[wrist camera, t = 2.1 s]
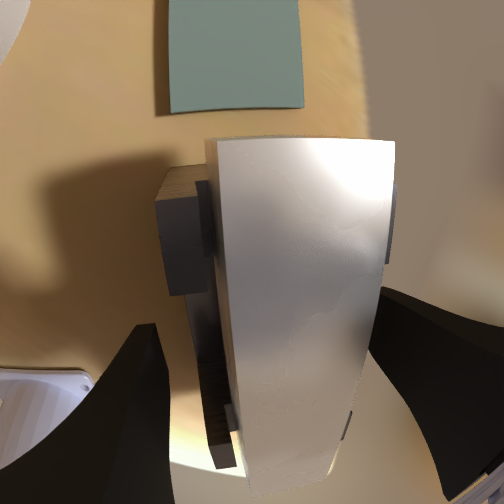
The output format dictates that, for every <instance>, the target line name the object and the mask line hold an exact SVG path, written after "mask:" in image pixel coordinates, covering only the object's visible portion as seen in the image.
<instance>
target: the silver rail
mask: <svg viewBox="0 0 504 504" xmlns="http://www.w3.org/2000/svg"><path fill="white" fill-rule="evenodd" d="M204 142H205V157H206V172H207V185H208V198H209V210H210V222H211V233H212V244H213V254H214V264H215V274H216V283H217V292H218V301H219V310H220V319H221V327H222V335H223V343H224V351H225V358H226V366H227V373H228V381H229V388H230V395H231V401H232V408H233V415H234V421H235V428H236V434H237V440H238V445H239V449H240V453H241V457H242V461H243V465H244V469H245V473H246V477H247V480H248V484H249V488H250V492H251V495H252V498H253V497H259V496H264V495H269V494H273V493H278V492H281V491H286V490H290V489H294V488H298V487H301V486H305V485H308V484H312V483H315V482H318V481H322V480H325V478H326V476H327V473H328V471H329V469H330V466H331V464H332V461H333V459H334V456H335V453H336V451H337V448H338V445H339V443H340V440H341V437H342V434H343V432H344V429H345V426H346V423H347V420H348V417H349V414H350V411H351V408H352V404H353V401H354V398H355V395H356V391H357V388H358V384H359V381H360V377H361V374H362V370H363V366H364V362H365V358H366V354H367V350H368V346H369V342H370V338H371V333H372V329H373V324H374V320H375V315H376V310H377V305H378V299H379V294H380V288H381V282H382V276H383V270H384V264H385V257H386V249H387V242H388V233H389V224H390V214H391V203H392V190H393V173H394V142H390V141H381V140H373V139H363V138H353V137H341V136H327V135H264V136H240V137H224V138H211V139H204Z"/></svg>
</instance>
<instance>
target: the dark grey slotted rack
mask: <svg viewBox="0 0 504 504" xmlns="http://www.w3.org/2000/svg"><path fill="white" fill-rule="evenodd" d="M396 194H397V184H395V183H393V190H392V203H391V214H390V224H389V233H388V242H387V249H386V257H385V264H388V263H389V257H390V250H391V243H392V234H393V225H394V217H395V216H394V215H395V206H396ZM155 208H156V216H157V223H158V230H159V237H160V243H161V249H162V255H163V261H164V267H165V273H166V278H167V284H168V289H169V294H170V296H178V295H185V300H186V306H187V312H188V317H189V323H190V328H191V333H192V338H193V343H194V348H195V353H196V358H197V365H198V374H199V382H200V391H201V398H202V406H203V413H204V420H205V427H206V434H207V440H208V446H209V450H210V453H211V456H212V459H213V461H214V464H215V467H216V469H223V468H230V467H237V465H236V460H235V455H234V450H233V445H232V440H231V436H230V432H232V431H236V428H235V421H234V415H233V408H232V401H231V395H230V388H229V381H228V373H227V366H226V358H225V351H224V343H223V335H222V327H221V319H220V310H219V301H218V292H217V283H216V274H215V264H214V254H213V244H212V233H211V222H210V210H209V198H208V185H207V172H206V164H198V165H189V166H180V167H171V168H170V169H169V171H168V173H167V175H166V177H165V179H164V182H163V184H162V186H161V188H160V190H159V192H158V195H157V197H156V199H155ZM385 264H384V265H385ZM351 416H352V411H350V414H349V417H348V420H347V423H346V426H345V429H344V432H343V434H342V437H341V440H343V439H344V436H345V433H346V431H347V428H348V425H349V422H350V419H351ZM341 440H340V441H341Z"/></svg>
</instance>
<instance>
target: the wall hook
mask: <svg viewBox="0 0 504 504" xmlns="http://www.w3.org/2000/svg"><path fill="white" fill-rule="evenodd" d="M30 2H31V0H0V65H1V64H2V62H3V61H4V59H5V58H6V56H7V54H8V53H9V51H10V49H11V47H12V45H13V44H14V42H15V40H16V38H17V36H18V34H19V32H20V29H21V27H22V25H23V23H24V20H25V18H26V15H27V12H28V9H29V6H30Z"/></svg>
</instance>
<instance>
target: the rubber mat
mask: <svg viewBox="0 0 504 504" xmlns="http://www.w3.org/2000/svg"><path fill="white" fill-rule="evenodd" d="M169 82H170V106H171V114H177V113H186V112H197V111H210V110H227V109H255V108H289V109H300V108H305V107H304V83H303V64H302V48H301V34H300V21H299V10H298V0H169Z"/></svg>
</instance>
